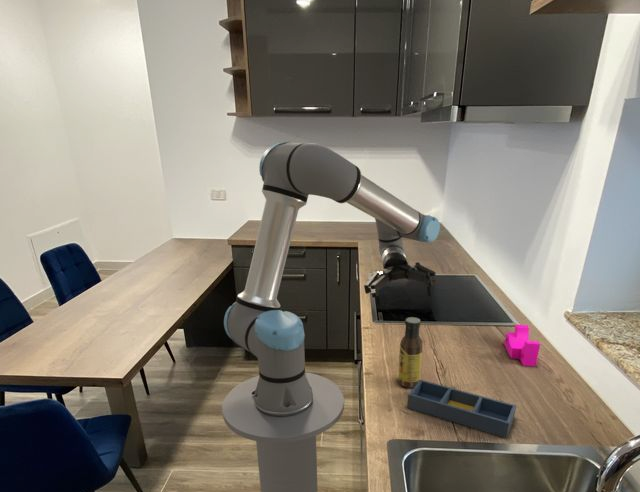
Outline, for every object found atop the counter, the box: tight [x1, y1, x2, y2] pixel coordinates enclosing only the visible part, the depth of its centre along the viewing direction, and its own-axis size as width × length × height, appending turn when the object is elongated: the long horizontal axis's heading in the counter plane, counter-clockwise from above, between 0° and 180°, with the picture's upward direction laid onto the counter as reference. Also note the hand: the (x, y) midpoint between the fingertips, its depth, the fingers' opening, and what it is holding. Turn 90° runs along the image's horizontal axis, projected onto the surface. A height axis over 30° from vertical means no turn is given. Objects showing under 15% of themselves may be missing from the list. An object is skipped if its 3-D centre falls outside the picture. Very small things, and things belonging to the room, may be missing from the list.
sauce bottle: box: [397, 316, 424, 389], centre depth 123 cm, size 6×6×20 cm
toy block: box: [503, 324, 541, 367], centre depth 142 cm, size 15×6×8 cm, turn 173°
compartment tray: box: [406, 379, 517, 439], centre depth 112 cm, size 25×9×4 cm, turn 60°
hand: (403, 296), depth 118 cm, fingers open, 13 cm apart
